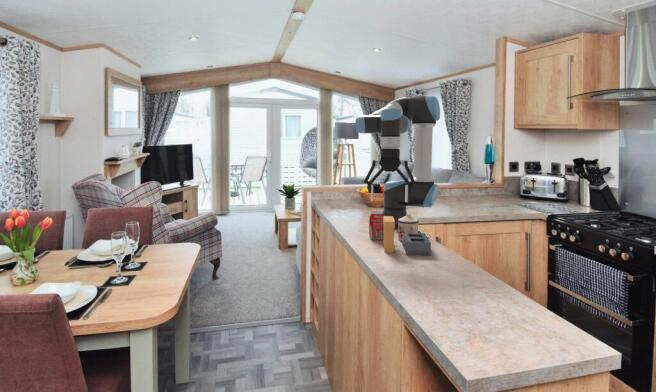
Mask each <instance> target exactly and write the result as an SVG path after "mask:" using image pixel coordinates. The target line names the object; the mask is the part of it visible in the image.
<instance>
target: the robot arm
mask: <svg viewBox="0 0 656 392" xmlns="http://www.w3.org/2000/svg"><path fill="white" fill-rule="evenodd" d="M440 120H441V107H440V103H439V100H438V98H437V97H436V96H435V95H420V96H419V95H418V96H417V95H416V96H403V97H400V98H397V99H396V98H395V99H394V100H392V101H389V102H387V103H386V104H385V106H384V107H382V108H380V109H378V110H376V111H374V112H372V113H370V114H368V115H365V114H362V115H358V116H357V117H356V119H355V121H354V122H355V123H354V124H355V130H356V132H357V133H358V134H380V147H381V149H380V156H379V157H380V160H375V159H374V160H372V162H371V167H370V169H369V170H368V173H367V174H366V176H365V178H364V180H363V184H365V185H367V186H368V187H367V189H368V190H367V192H368V194H370V202H374V185H373V183H374V182H375V181H376V180H377V178H379V177H380V175H382V173H383V172H387V173H388V172H389V173H390V172H391V173H395V172H397V174H398V175H399V176H400V177H401V179H398V180H390V181H386V182H385V183H384V185H383V211H382V212H384V215H385V216H393V218H394V221H395V228H394V229H398V219H400V218H403V217H404V216H406V214H408V212H407V207H415V208H416V207H418V208H432V207H433V206H434V205H435V203H436V201H437V197H438V192H439V186H438V184H436V183H435V179H434V178H433V177H432V163H433V161H432V160H433V130H434V129H433V128H434V127H435V126H436V125H437V121H440ZM411 125H412V127H413V128H414V138H413V139H414V144H413V145H414V146H413V147H414V149H413V174H412V171H411V169H410V167H409V163H408V162H409V161H408V160H402V161H401V160H400V159H401V158H400V157H401V156H400V154H401V150H400V147H401V134H405V133H406V132H407V131H409V129H410V127H411ZM378 165H379V166H380V168H379V169H378V171H377V172H376V173H375V174H374V176H373V177H371V175H372V174H373V171H374V170H375V167H377V166H378ZM401 165H402V166H403V167H404V169H405V171H406V173H407V175H408V177H409V179H408V178H407V177H406V175H404V173H403V172H402V171H401V170H400V169H399V167H400V166H401ZM370 177H371V179H370ZM369 179H370V180H369Z"/></svg>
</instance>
